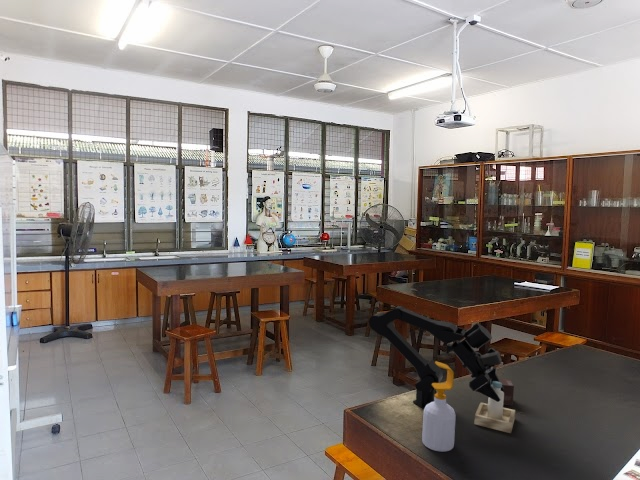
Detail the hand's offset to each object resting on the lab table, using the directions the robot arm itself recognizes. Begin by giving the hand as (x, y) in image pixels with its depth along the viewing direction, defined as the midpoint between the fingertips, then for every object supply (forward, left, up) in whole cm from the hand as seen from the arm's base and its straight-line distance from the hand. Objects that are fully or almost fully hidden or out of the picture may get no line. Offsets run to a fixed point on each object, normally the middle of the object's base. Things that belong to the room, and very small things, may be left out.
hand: (501, 395), depth 146 cm
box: (+14, +11, -9) cm, 20 cm away
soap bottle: (-28, -2, -9) cm, 29 cm away
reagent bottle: (-1, +1, -8) cm, 8 cm away
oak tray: (-1, +1, -9) cm, 9 cm away
